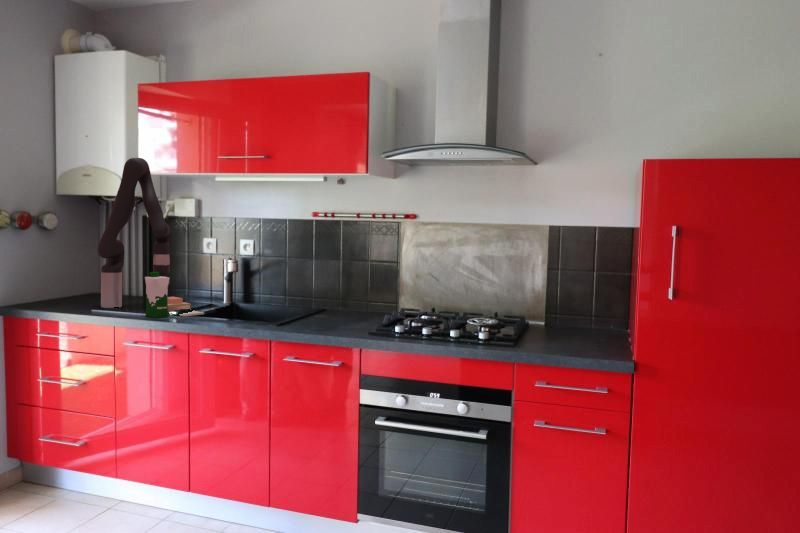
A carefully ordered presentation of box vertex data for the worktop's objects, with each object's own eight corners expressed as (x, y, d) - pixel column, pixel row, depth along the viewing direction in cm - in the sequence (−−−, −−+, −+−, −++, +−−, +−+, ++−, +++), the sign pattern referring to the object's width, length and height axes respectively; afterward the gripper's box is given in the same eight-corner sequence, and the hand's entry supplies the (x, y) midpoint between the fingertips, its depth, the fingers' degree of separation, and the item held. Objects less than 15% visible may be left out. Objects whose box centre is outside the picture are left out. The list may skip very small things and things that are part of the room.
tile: (161, 302, 317) (161, 297, 317) (172, 301, 322) (172, 296, 322) (171, 304, 312) (171, 299, 312) (182, 303, 317) (182, 298, 317)
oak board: (153, 311, 316) (153, 302, 316) (175, 308, 326) (175, 300, 325) (168, 313, 309) (168, 305, 308) (190, 311, 318) (190, 303, 318)
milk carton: (159, 314, 307) (159, 271, 305) (171, 316, 302) (171, 272, 300) (142, 316, 299) (142, 272, 298) (155, 318, 294) (155, 273, 293)
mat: (168, 314, 309) (168, 312, 309) (190, 311, 318) (190, 310, 318) (181, 316, 302) (181, 314, 302) (204, 314, 312) (204, 312, 312)
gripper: (146, 263, 322) (146, 298, 324) (162, 264, 314) (162, 301, 315) (160, 262, 328) (160, 297, 329) (176, 264, 320) (175, 299, 321)
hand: (161, 299), depth 322 cm, fingers closed
